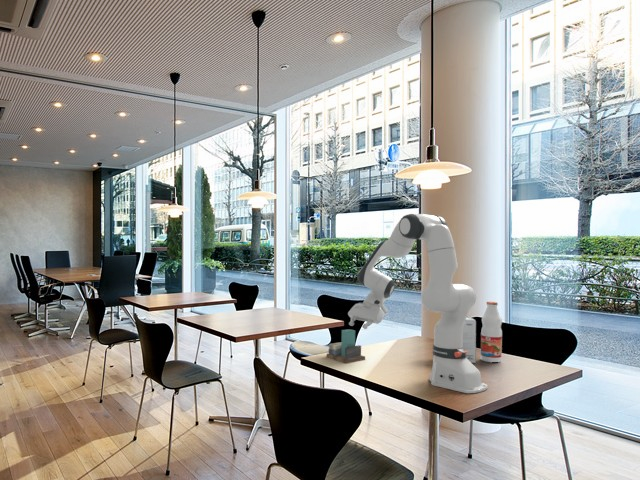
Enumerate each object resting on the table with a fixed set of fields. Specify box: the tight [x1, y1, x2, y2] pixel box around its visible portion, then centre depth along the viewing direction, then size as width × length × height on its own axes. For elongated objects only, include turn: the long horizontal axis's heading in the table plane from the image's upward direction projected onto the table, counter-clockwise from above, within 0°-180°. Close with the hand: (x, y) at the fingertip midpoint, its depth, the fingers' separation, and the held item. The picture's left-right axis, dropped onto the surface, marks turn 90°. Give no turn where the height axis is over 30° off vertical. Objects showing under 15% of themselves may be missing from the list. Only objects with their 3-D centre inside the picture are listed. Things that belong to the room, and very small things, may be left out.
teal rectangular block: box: [341, 328, 356, 357], centre depth 217 cm, size 4×5×12 cm
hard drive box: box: [463, 317, 477, 364], centre depth 218 cm, size 16×8×20 cm, turn 84°
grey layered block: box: [326, 341, 366, 364], centre depth 218 cm, size 14×12×6 cm
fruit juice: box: [480, 300, 503, 363], centre depth 220 cm, size 9×9×28 cm
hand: (357, 326), depth 220 cm, fingers open, 8 cm apart
